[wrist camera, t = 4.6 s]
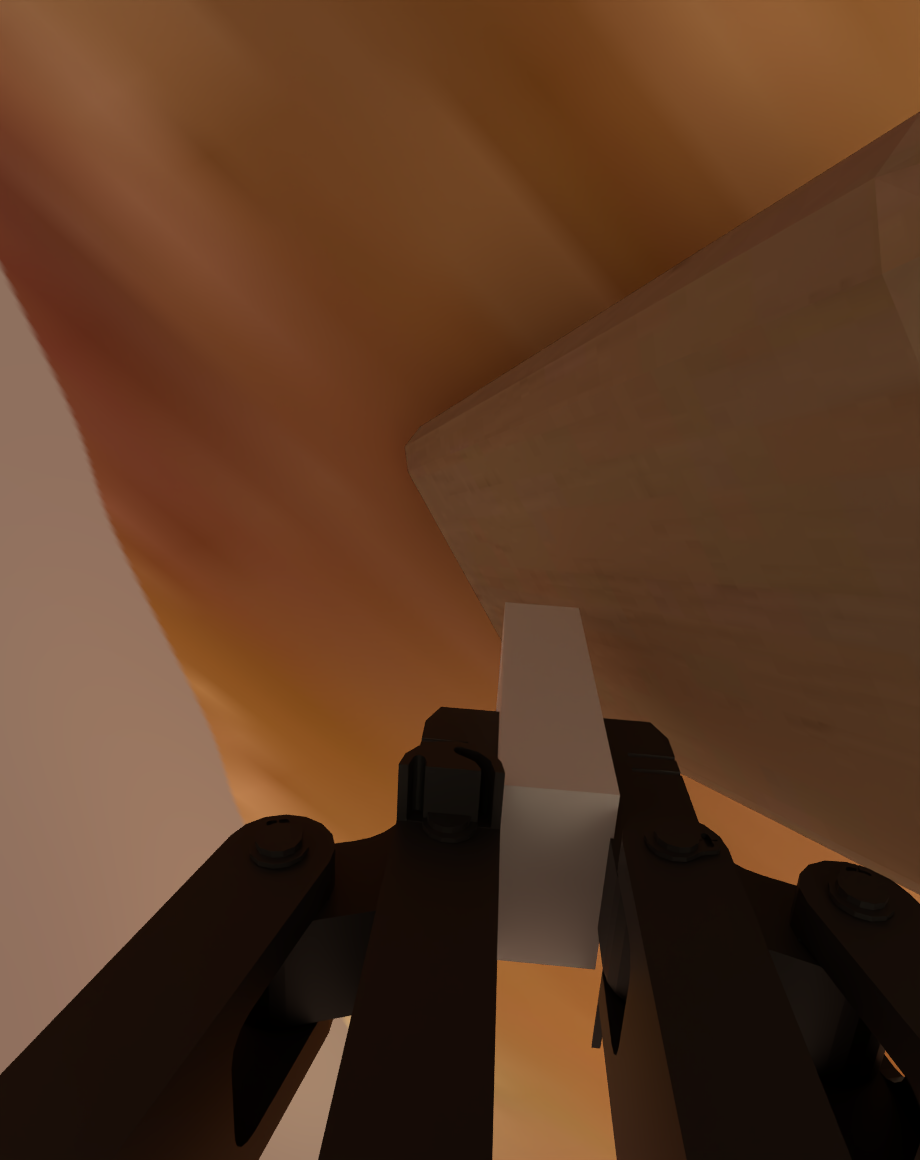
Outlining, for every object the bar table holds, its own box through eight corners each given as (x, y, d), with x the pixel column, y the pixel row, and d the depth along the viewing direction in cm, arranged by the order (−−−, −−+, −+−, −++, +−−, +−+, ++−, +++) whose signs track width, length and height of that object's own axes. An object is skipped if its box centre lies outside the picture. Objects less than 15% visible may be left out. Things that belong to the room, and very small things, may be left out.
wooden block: (635, 308, 27) (1671, -299, 7) (755, 561, 28) (1842, 596, 9) (385, 446, 24) (942, 87, 5) (532, 711, 26) (1350, 1165, 7)
